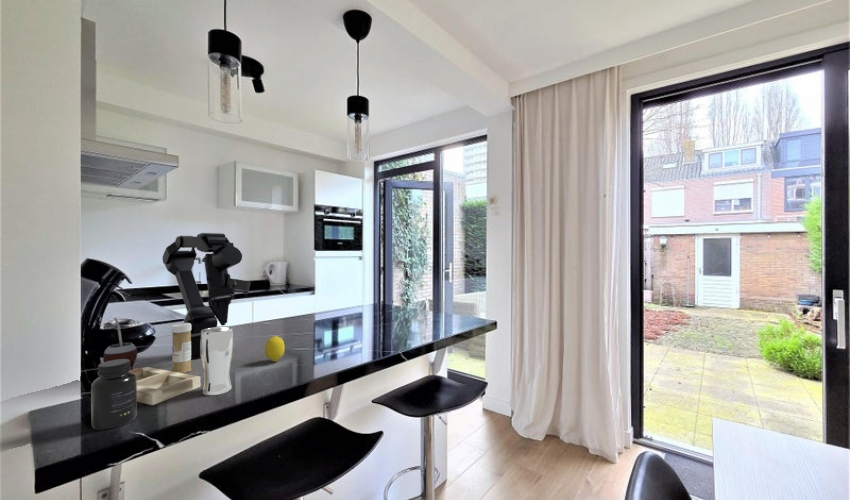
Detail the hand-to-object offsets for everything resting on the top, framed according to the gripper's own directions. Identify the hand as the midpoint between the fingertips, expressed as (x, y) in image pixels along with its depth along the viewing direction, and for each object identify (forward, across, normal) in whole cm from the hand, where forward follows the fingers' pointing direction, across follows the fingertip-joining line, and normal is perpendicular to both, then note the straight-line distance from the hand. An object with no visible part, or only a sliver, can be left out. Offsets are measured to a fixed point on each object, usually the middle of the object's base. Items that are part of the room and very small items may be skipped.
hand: (224, 324), depth 103 cm
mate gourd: (+7, +11, +26) cm, 29 cm away
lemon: (+14, -2, -12) cm, 19 cm away
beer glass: (+17, -16, +4) cm, 24 cm away
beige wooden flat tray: (+12, -6, +18) cm, 23 cm away
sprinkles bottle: (+11, +3, +12) cm, 16 cm away
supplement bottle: (+16, -23, +22) cm, 36 cm away
